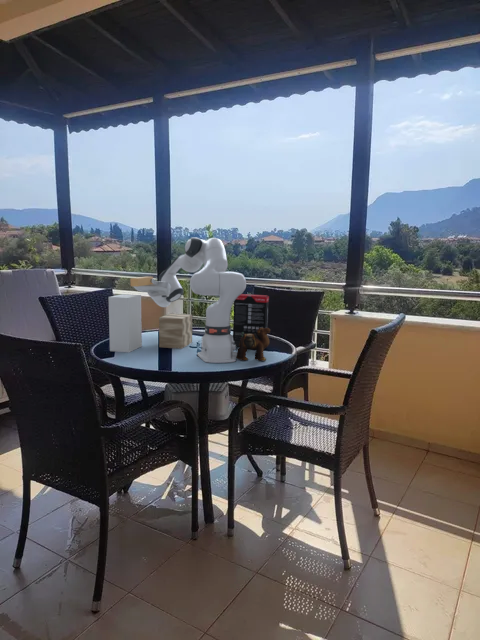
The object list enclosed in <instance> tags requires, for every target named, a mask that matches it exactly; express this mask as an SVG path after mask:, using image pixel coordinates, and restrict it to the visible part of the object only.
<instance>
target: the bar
mask: <svg viewBox="0 0 480 640" xmlns="http://www.w3.org/2000/svg"><path fill="white" fill-rule="evenodd" d="M150 279H154V276H139V277H131V278H130V287H133V286H137V287H138V286H144V285H151V284H153V283H151V282H150Z"/></svg>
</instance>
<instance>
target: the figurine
mask: <svg viewBox="0 0 480 640" xmlns="http://www.w3.org/2000/svg"><path fill="white" fill-rule="evenodd" d="M270 333H271V329H270V328H269V327H268V328H259V329H258V330H257V335H258V336H259V337H260V339H261V340H260V339H259V338H258V337H257V336H256V334H243V336H242V337H241V339H240V343H239V347H237V350H236V352H237V357H236V360H240V361H244V362H245V361H249V359H248V357H247V352H248V351H255V354H254V360H257V361H258V362H265V361H266V360H267V358H266V357H265V355H264V350H263V349H264V348H265V349H266V348H268V346H269V345H270V339H269V336H268V334H270Z"/></svg>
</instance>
